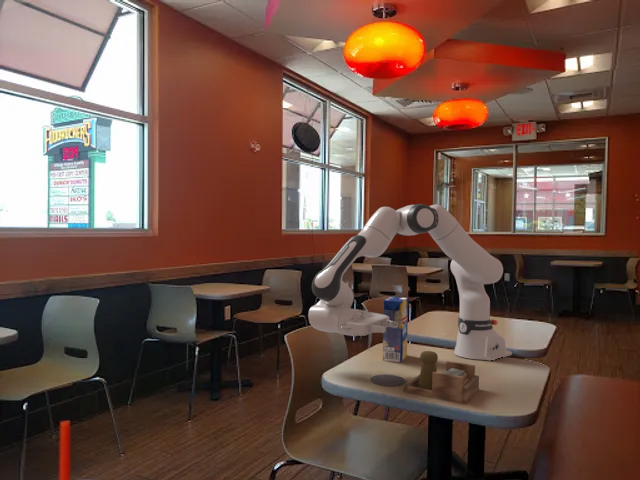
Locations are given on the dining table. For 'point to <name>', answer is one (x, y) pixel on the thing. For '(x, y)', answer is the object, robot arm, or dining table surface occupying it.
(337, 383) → the dining table surface
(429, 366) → the cork
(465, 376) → the rack
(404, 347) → the beverage box
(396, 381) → the coaster
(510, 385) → the dining table surface
